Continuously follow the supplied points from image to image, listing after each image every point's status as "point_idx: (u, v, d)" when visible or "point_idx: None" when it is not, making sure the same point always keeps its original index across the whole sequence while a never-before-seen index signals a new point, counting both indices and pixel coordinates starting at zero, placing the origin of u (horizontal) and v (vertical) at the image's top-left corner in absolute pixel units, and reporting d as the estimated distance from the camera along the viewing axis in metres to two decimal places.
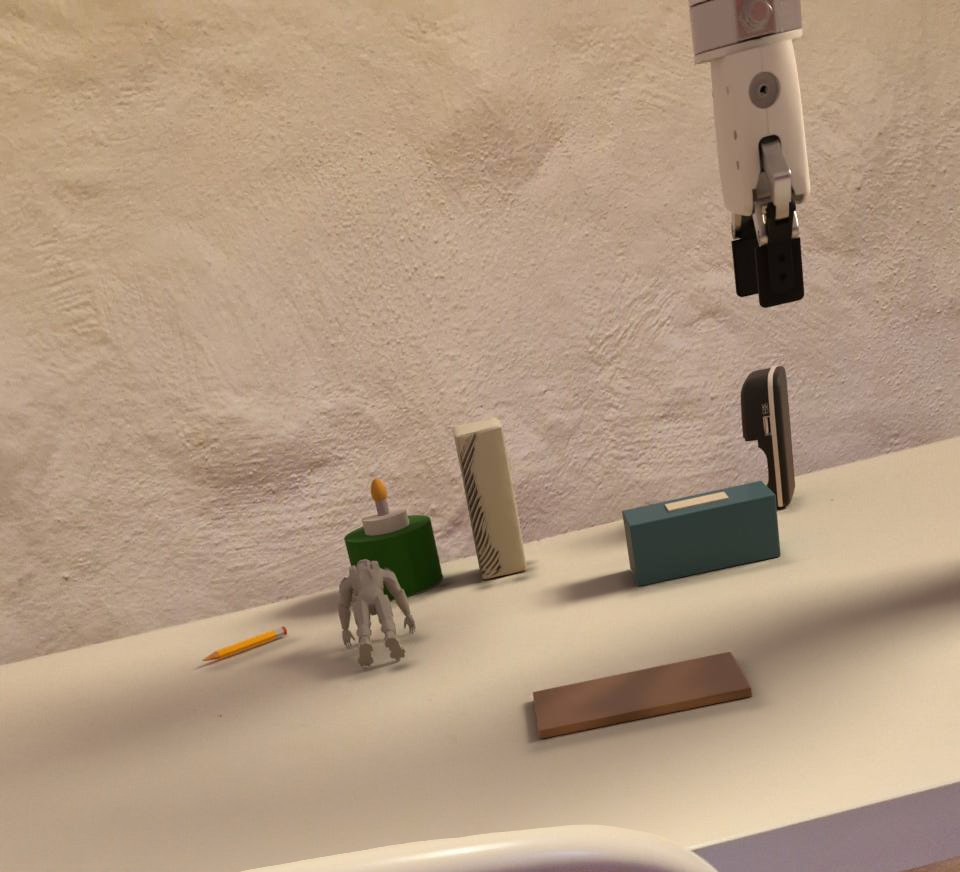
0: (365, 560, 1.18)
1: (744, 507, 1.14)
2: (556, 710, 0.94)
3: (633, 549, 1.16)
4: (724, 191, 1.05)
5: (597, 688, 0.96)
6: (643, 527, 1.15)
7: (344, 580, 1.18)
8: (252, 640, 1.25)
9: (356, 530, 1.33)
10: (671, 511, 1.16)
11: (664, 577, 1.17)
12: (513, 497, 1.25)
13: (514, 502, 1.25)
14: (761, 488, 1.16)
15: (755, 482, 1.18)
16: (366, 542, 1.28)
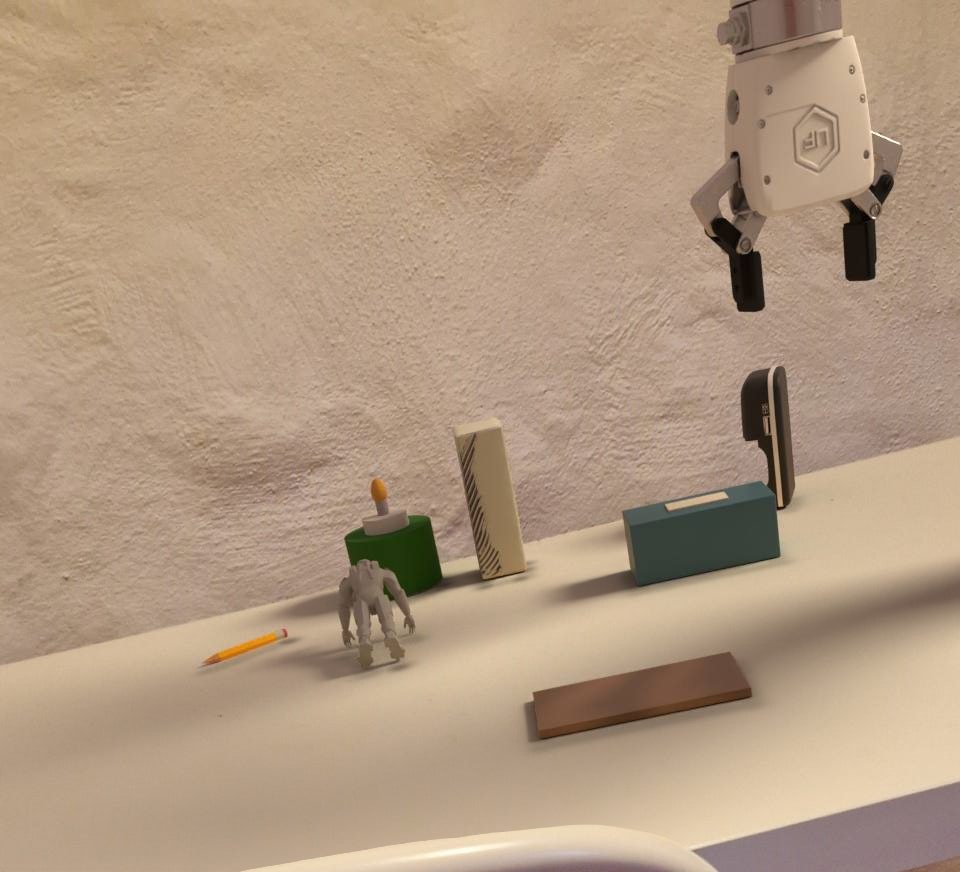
0: (365, 560, 1.18)
1: (744, 507, 1.14)
2: (556, 710, 0.94)
3: (633, 549, 1.16)
4: None
5: (597, 688, 0.96)
6: (643, 527, 1.15)
7: (344, 580, 1.18)
8: (253, 642, 1.25)
9: (356, 530, 1.33)
10: (671, 511, 1.16)
11: (664, 577, 1.17)
12: (513, 497, 1.25)
13: (514, 502, 1.25)
14: (761, 488, 1.16)
15: (755, 482, 1.18)
16: (366, 542, 1.28)
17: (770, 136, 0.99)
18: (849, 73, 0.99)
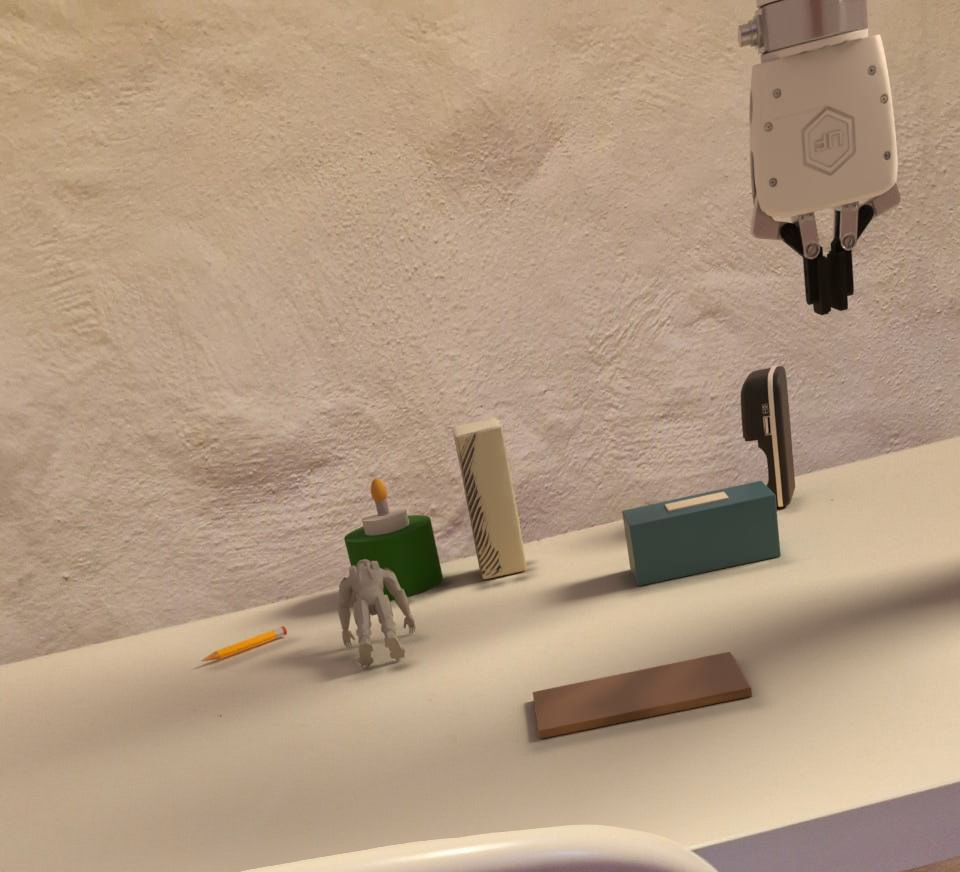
0: (365, 560, 1.18)
1: (744, 507, 1.14)
2: (556, 710, 0.94)
3: (633, 549, 1.16)
4: None
5: (597, 688, 0.96)
6: (643, 527, 1.15)
7: (344, 580, 1.18)
8: (252, 640, 1.25)
9: (356, 530, 1.33)
10: (671, 511, 1.16)
11: (664, 577, 1.17)
12: (513, 497, 1.25)
13: (514, 502, 1.26)
14: (761, 488, 1.16)
15: (755, 482, 1.18)
16: (366, 542, 1.28)
17: (777, 139, 1.01)
18: (869, 73, 0.99)
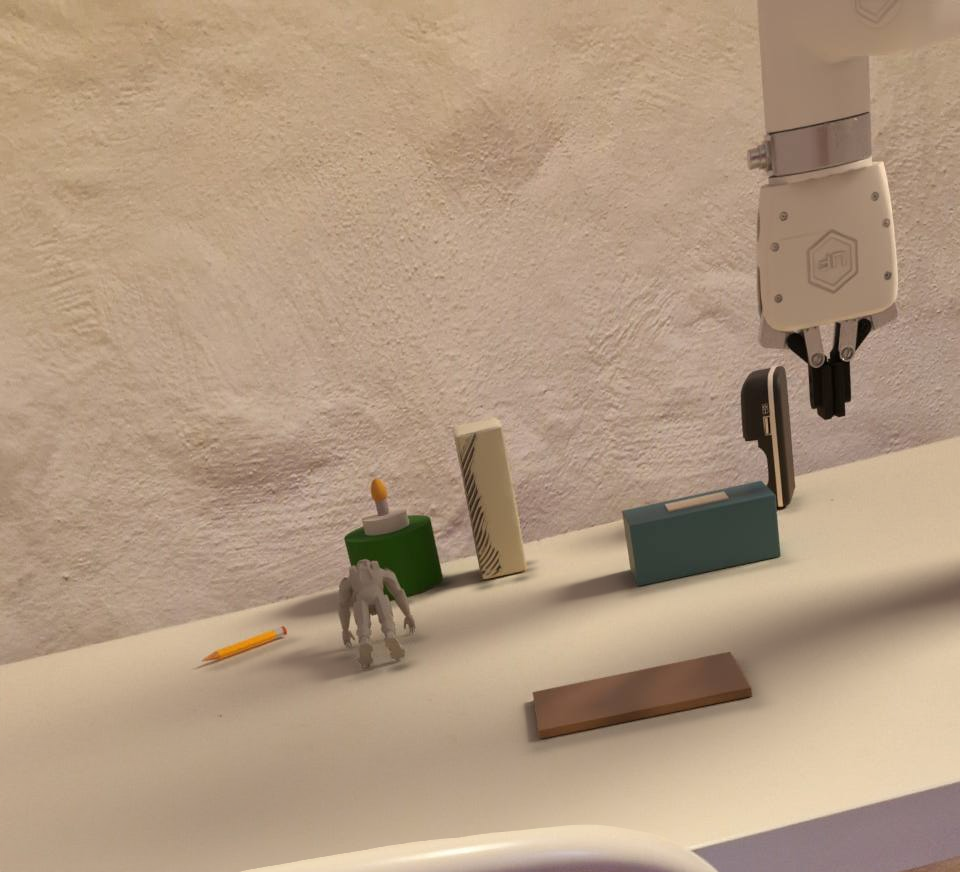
0: (365, 560, 1.18)
1: (744, 507, 1.14)
2: (556, 710, 0.94)
3: (633, 549, 1.16)
4: None
5: (597, 688, 0.96)
6: (643, 527, 1.15)
7: (344, 580, 1.18)
8: (252, 640, 1.25)
9: (356, 530, 1.33)
10: (671, 511, 1.16)
11: (664, 577, 1.17)
12: (513, 497, 1.25)
13: (514, 502, 1.25)
14: (761, 488, 1.16)
15: (755, 482, 1.18)
16: (366, 542, 1.28)
17: (783, 258, 1.05)
18: (872, 199, 1.03)
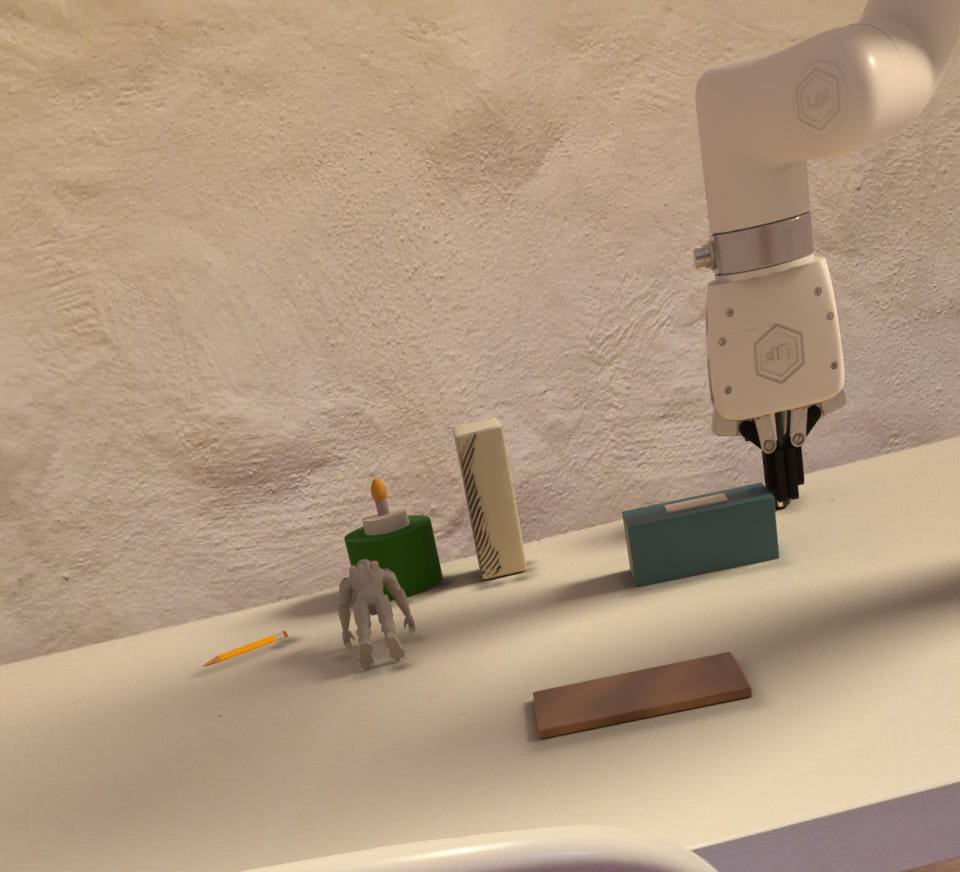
0: (365, 560, 1.18)
1: (743, 509, 1.14)
2: (556, 710, 0.94)
3: (631, 550, 1.16)
4: None
5: (597, 688, 0.96)
6: (641, 528, 1.15)
7: (344, 580, 1.18)
8: (253, 645, 1.25)
9: (356, 530, 1.33)
10: (670, 512, 1.16)
11: (662, 578, 1.17)
12: (513, 497, 1.25)
13: (514, 502, 1.25)
14: (761, 490, 1.16)
15: (755, 484, 1.18)
16: (366, 542, 1.28)
17: (731, 352, 1.08)
18: (815, 294, 1.06)
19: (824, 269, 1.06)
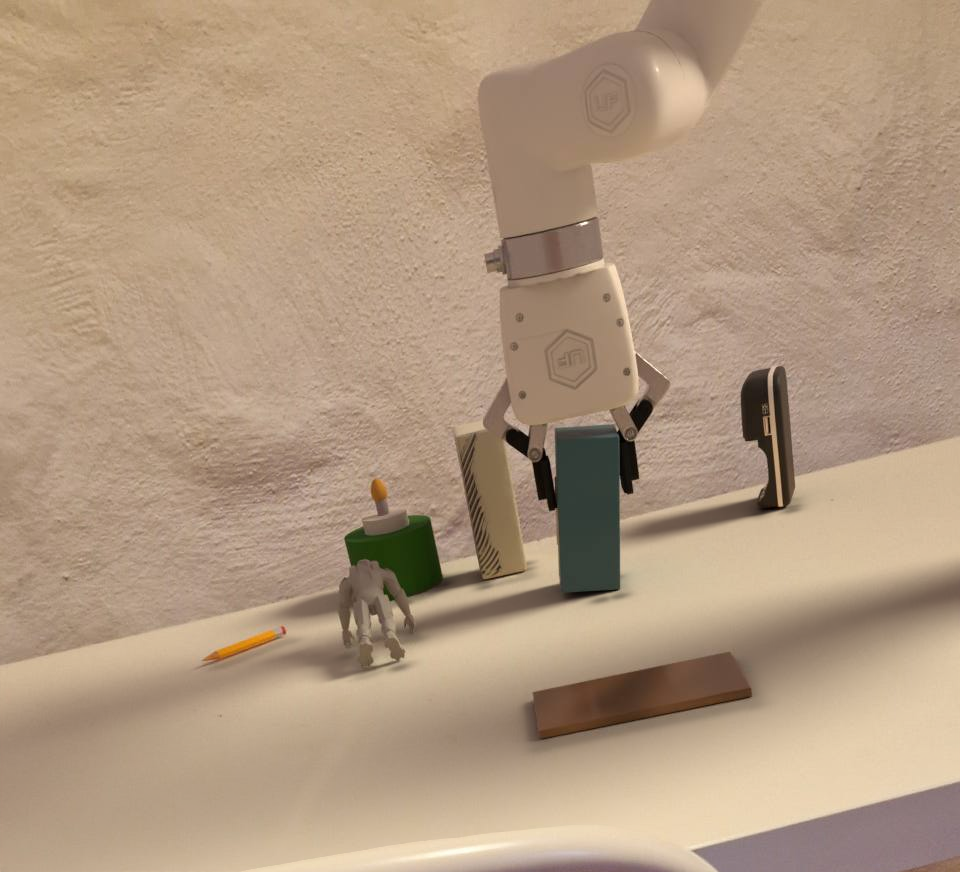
0: (365, 560, 1.18)
1: (563, 473, 1.13)
2: (556, 710, 0.94)
3: (584, 590, 1.18)
4: None
5: (597, 688, 0.96)
6: (565, 579, 1.17)
7: (344, 580, 1.18)
8: (252, 640, 1.25)
9: (356, 530, 1.33)
10: (558, 542, 1.17)
11: (616, 561, 1.16)
12: (513, 497, 1.25)
13: (514, 502, 1.25)
14: (555, 441, 1.14)
15: None
16: (366, 542, 1.28)
17: (523, 357, 1.08)
18: (604, 300, 1.06)
19: (612, 275, 1.06)
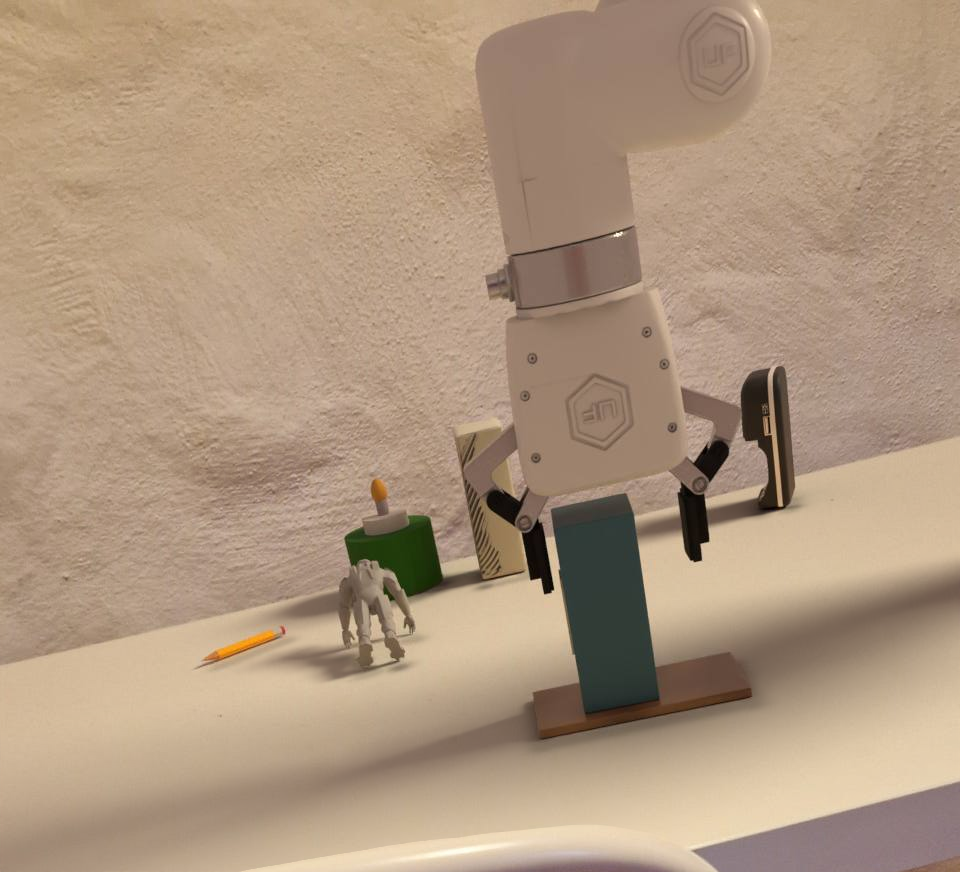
0: (365, 560, 1.18)
1: (568, 569, 0.87)
2: (556, 710, 0.94)
3: (613, 707, 0.92)
4: None
5: None
6: (587, 697, 0.92)
7: (344, 580, 1.18)
8: (251, 640, 1.25)
9: (356, 530, 1.33)
10: (573, 652, 0.92)
11: (650, 667, 0.90)
12: None
13: None
14: None
15: None
16: (366, 542, 1.28)
17: (537, 409, 0.82)
18: (644, 335, 0.81)
19: (655, 303, 0.80)
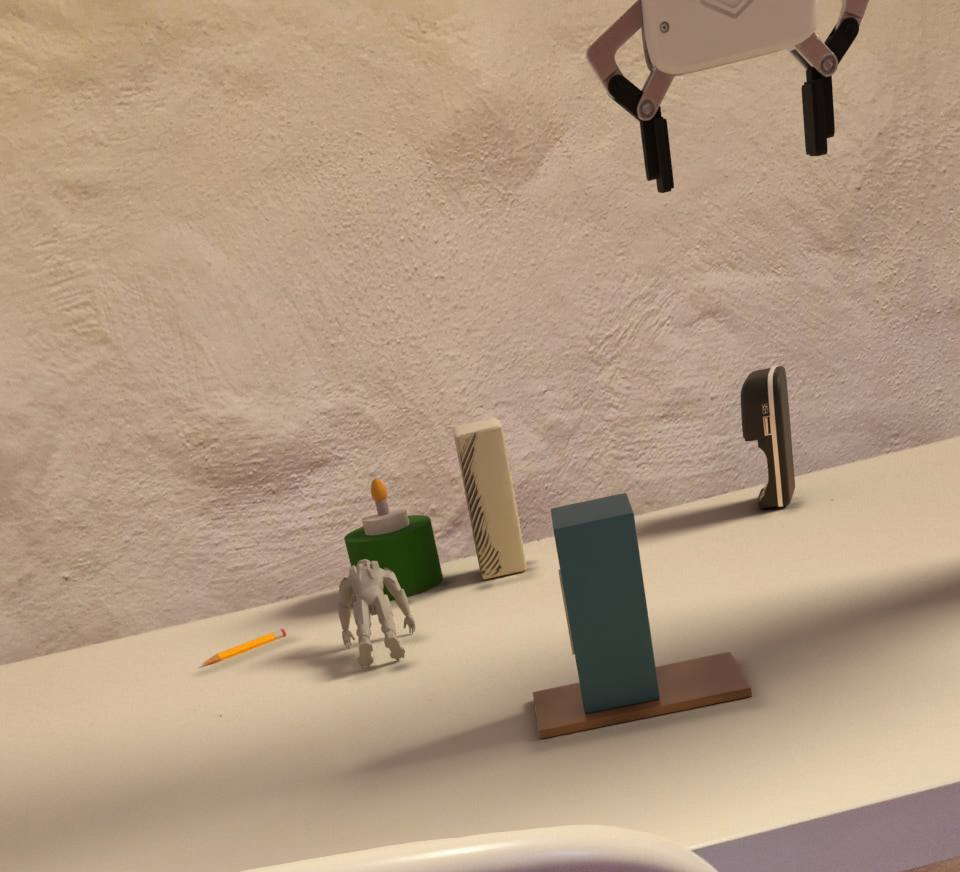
0: (365, 560, 1.18)
1: (568, 569, 0.87)
2: (556, 710, 0.94)
3: (613, 707, 0.92)
4: None
5: None
6: (587, 697, 0.92)
7: (344, 580, 1.18)
8: (252, 643, 1.26)
9: (356, 530, 1.33)
10: (573, 652, 0.92)
11: (650, 667, 0.90)
12: (513, 497, 1.25)
13: (514, 502, 1.25)
14: None
15: None
16: (366, 542, 1.28)
17: None
18: None
19: None
